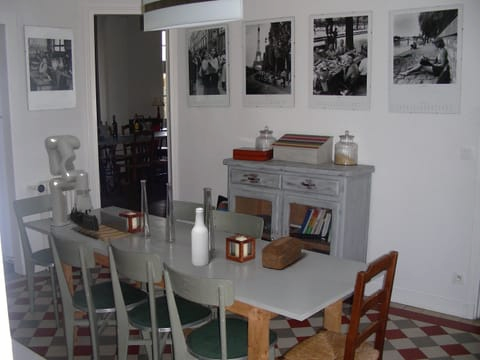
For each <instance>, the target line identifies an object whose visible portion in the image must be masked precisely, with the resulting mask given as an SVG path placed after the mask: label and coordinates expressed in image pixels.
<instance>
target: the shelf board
mask: <svg viewBox="0 0 480 360" xmlns="http://www.w3.org/2000/svg"><path fill="white" fill-rule="evenodd" d="M98 224H99V230H100V231H97V232H95V231H90V230H86V229H83V228H81V227H77V228H76V229H77V231H78V232H80V233H82V234H85V235H87V236H90V235H91V236H90V237H94V238H95V237H96V239H98V240H100V239H101V240H100V241H104V242H108V237H110V238H111V240H110V241H114V240H118V239H122V238H126V237H131V232H128V233H124V232H121V231H119V230H116V229H113V228H110V227H107V226H104V225H101V222H100V223H98Z"/></svg>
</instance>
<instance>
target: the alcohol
mask: <svg viewBox="0 0 480 360" xmlns="http://www.w3.org/2000/svg"><path fill="white" fill-rule="evenodd" d="M194 223H195V224H194V226H193V228H192V229H191V233H190V235H191V264H192V265H193V266H195V267H204V266H207V265H209V258H210V257H209V231H208V228H207V226H206V225H205V219H204V208H203V207H197V208H195V221H194Z"/></svg>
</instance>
